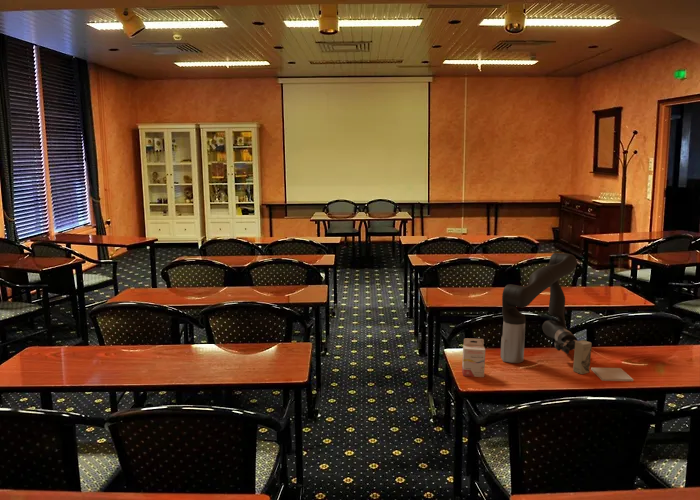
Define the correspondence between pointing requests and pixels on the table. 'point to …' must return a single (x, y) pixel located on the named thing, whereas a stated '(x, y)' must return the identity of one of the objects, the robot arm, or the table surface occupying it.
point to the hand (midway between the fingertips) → (578, 351)
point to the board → (611, 374)
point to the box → (582, 357)
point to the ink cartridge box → (473, 358)
